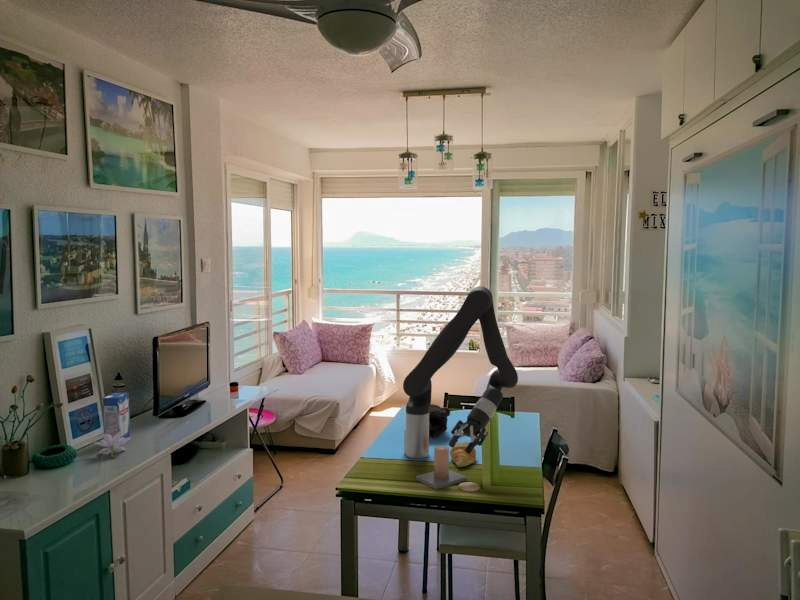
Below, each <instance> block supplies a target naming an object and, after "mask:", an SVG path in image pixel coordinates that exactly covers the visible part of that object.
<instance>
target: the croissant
mask: <svg viewBox="0 0 800 600" xmlns="http://www.w3.org/2000/svg"><path fill="white" fill-rule="evenodd" d="M469 443H470V442H459V443H456V444H455V446H454V447H453V448H452V447H451V448H450V449H449V457H451V460H452V462H454V464H455V465H456V466H457V467H458V468H463V467H467V466H469V465H472V463H475V462H476V459H477V452H476V451H477V450H476V449H475V448H476V447H474V449H473V450H472V452H471V453H470V454H467V453H466V452H465V449H466V447H467V446H468V444H469Z"/></svg>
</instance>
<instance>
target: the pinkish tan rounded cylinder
mask: <svg viewBox="0 0 800 600" xmlns="http://www.w3.org/2000/svg"><path fill="white" fill-rule="evenodd" d="M449 470H450V448H449V447H447V446H442V445H440V446H439V445H438V446H436V447H434V448H433V471H434V477H435V478H437V479H447V478H448V477H449Z"/></svg>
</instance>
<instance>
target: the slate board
mask: <svg viewBox="0 0 800 600" xmlns="http://www.w3.org/2000/svg"><path fill="white" fill-rule="evenodd" d="M415 480H416V481H418V482H420V483H422V484H424V485H426V486H428V487H430V488H433V489H435V490H438V489H441V488H444V487H445V488H446V487H448V486H451V485H455V484H460V483H463V482H465V481H466V482H467V476H465V475H464V474H461V473H458V472H456V471H454V470H451V469H449V477H448V478H447V479H437V478H435V477H434V470H433V471H430V472H426V473H421V474H419V475H415Z"/></svg>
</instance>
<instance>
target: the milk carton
mask: <svg viewBox="0 0 800 600" xmlns="http://www.w3.org/2000/svg"><path fill="white" fill-rule="evenodd" d="M102 406H103V407H102V411H103V412H102V415H103V434H110V435H111V437H112V439H113V437H114V436H115V435H116V434H117V433H118V432H120V431H122V436H121V438H123V437H124V438H128V437H130V438H131V432H130V431H131V429H130V394H129V392H112V393H111V394H108V395H107V396H105V397H102ZM121 438H120V439H121Z"/></svg>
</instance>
